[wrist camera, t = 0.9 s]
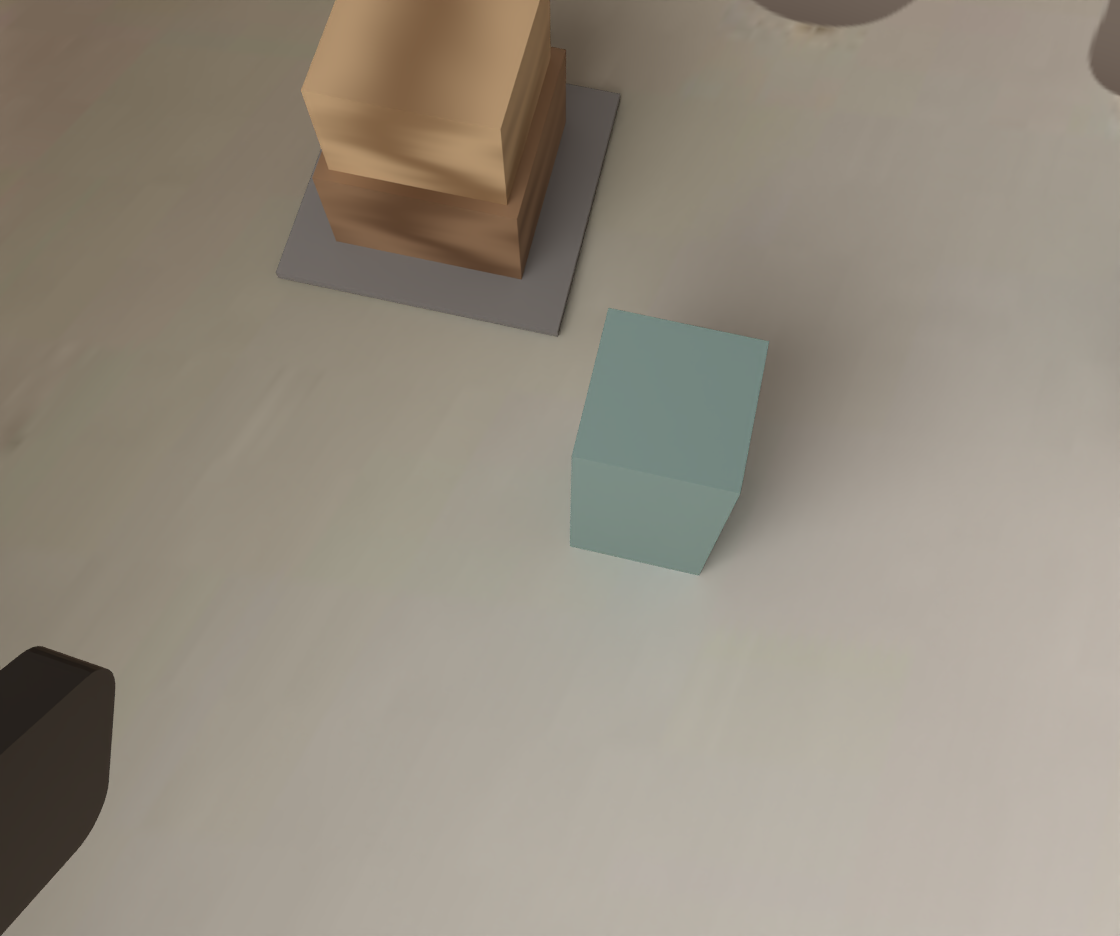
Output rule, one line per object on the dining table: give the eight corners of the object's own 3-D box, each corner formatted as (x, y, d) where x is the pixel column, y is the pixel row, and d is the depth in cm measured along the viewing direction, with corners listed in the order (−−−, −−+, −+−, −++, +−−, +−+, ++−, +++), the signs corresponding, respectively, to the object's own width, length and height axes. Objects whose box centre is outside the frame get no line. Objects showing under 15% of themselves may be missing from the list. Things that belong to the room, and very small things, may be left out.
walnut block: (565, 122, 46) (565, 49, 42) (521, 279, 44) (517, 219, 40) (390, 87, 47) (372, 13, 43) (336, 240, 44) (312, 177, 40)
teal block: (722, 454, 42) (769, 341, 32) (698, 575, 40) (740, 493, 31) (598, 427, 42) (608, 307, 33) (569, 546, 41) (571, 456, 31)
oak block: (550, 57, 42) (549, -31, 38) (507, 205, 40) (500, 129, 36) (381, 25, 43) (361, -66, 38) (328, 169, 40) (300, 90, 36)
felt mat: (619, 99, 47) (620, 93, 47) (557, 336, 43) (557, 332, 43) (361, 49, 48) (359, 43, 48) (278, 277, 44) (275, 272, 44)
